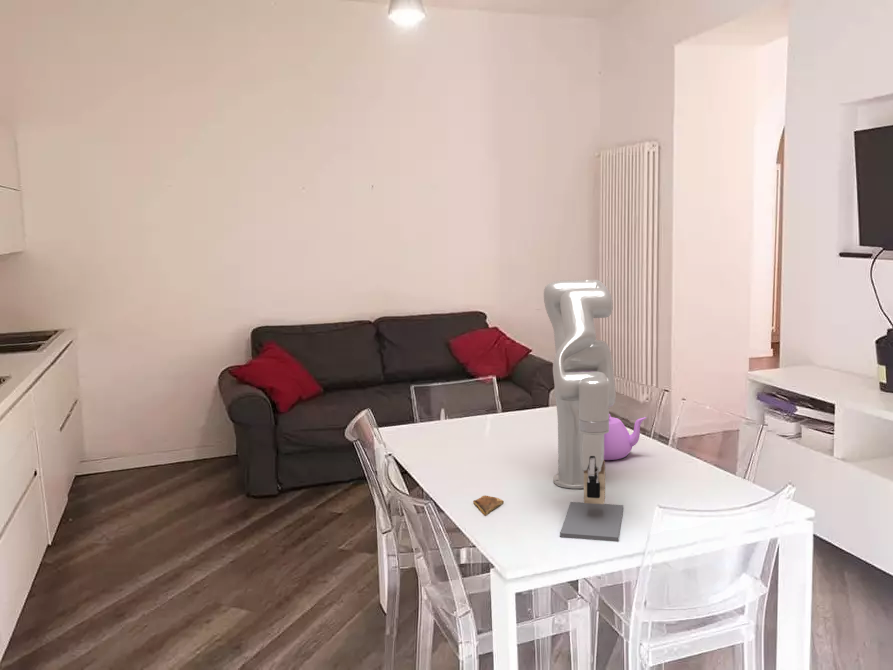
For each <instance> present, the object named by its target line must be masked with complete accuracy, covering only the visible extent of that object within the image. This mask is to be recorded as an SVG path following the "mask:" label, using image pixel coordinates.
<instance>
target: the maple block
mask: <svg viewBox="0 0 893 670" xmlns="http://www.w3.org/2000/svg"><path fill="white" fill-rule="evenodd" d="M595 471H597V469H595ZM595 475H596V473H595ZM587 482H588V468H587V470H586V471H584V488H583V503H592V504H605V501H606V460H603V465H602V469H601V471H600V472H599V483H600V498H588V497H587Z"/></svg>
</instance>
